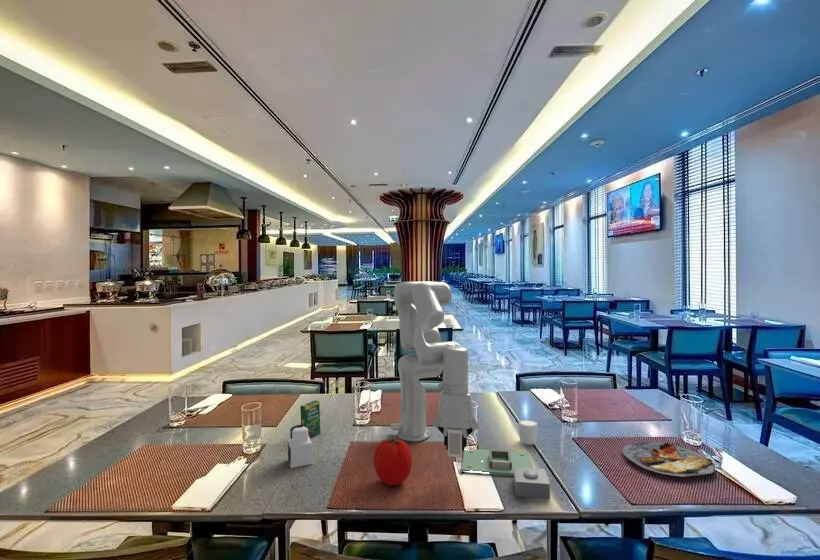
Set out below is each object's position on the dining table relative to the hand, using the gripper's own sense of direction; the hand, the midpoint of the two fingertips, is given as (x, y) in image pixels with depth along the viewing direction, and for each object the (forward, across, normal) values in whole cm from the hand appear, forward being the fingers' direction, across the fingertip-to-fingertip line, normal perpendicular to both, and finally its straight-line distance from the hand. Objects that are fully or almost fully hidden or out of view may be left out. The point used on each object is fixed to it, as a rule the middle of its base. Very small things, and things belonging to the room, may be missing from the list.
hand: (455, 447), depth 121 cm
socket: (+10, +14, +12) cm, 21 cm away
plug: (+1, 0, 0) cm, 1 cm away
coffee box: (+12, -58, +27) cm, 65 cm away
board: (+10, +13, +13) cm, 21 cm away
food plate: (+10, +67, +21) cm, 71 cm away
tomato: (+10, -18, -4) cm, 21 cm away
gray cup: (+11, +25, +33) cm, 42 cm away
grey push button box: (+9, +22, -2) cm, 24 cm away
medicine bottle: (+11, -52, +5) cm, 54 cm away
